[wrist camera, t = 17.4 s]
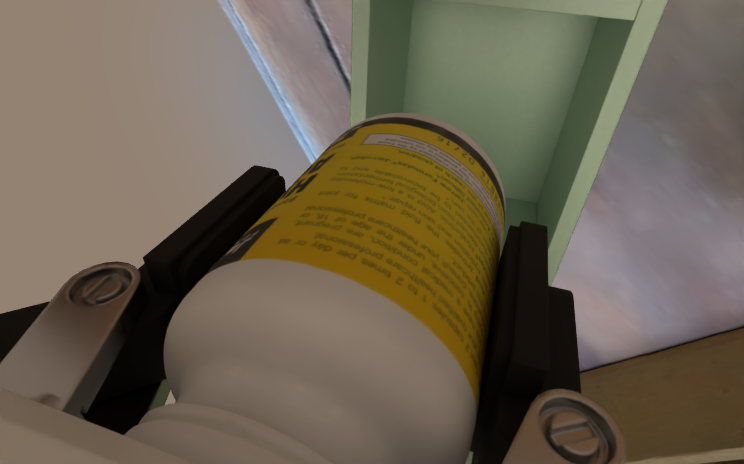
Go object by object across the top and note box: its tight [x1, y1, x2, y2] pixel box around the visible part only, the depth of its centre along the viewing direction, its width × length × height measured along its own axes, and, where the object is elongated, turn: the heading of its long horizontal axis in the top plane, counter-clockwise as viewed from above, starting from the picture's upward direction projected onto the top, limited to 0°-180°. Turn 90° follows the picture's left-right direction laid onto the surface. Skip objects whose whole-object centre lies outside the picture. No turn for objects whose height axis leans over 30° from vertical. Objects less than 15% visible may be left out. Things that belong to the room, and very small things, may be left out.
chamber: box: [350, 0, 668, 286], centre depth 26 cm, size 16×13×10 cm
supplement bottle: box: [124, 113, 506, 464], centre depth 9 cm, size 5×5×10 cm
